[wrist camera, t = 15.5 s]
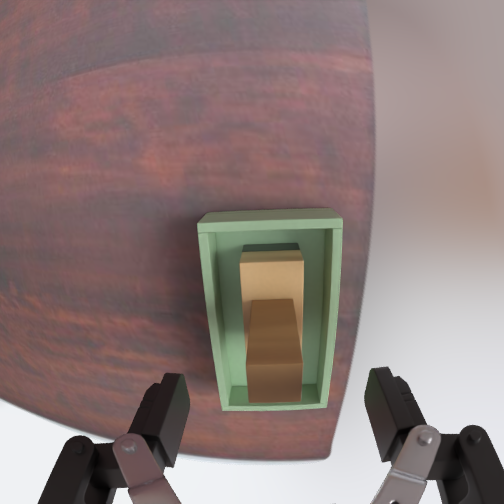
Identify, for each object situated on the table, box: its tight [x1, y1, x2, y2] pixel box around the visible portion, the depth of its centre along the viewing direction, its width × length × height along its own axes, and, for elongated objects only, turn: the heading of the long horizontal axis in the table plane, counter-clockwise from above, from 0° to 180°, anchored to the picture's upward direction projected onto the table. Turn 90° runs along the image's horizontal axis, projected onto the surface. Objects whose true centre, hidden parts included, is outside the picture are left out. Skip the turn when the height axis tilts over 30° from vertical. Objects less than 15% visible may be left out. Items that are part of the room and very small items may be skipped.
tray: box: [197, 208, 343, 411], centre depth 21 cm, size 15×8×3 cm, turn 3°
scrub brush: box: [239, 243, 304, 403], centre depth 17 cm, size 7×4×10 cm, turn 3°
